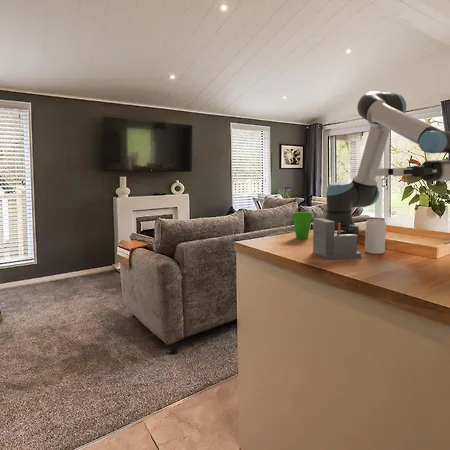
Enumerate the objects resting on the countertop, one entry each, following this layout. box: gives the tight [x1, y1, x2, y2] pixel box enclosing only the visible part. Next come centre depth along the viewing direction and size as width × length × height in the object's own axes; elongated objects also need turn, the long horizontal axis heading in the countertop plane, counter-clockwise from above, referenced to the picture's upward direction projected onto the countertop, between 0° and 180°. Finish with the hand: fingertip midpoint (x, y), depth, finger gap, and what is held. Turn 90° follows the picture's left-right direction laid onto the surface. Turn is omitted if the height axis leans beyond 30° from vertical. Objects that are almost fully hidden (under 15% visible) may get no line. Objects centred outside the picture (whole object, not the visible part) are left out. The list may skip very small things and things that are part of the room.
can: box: [364, 217, 387, 255], centre depth 123 cm, size 6×6×12 cm
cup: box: [291, 211, 313, 240], centre depth 154 cm, size 9×9×11 cm
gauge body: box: [312, 217, 362, 261], centre depth 121 cm, size 12×11×12 cm
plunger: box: [335, 223, 359, 245], centre depth 121 cm, size 9×6×8 cm, turn 98°
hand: (382, 172), depth 125 cm, fingers open, 13 cm apart
